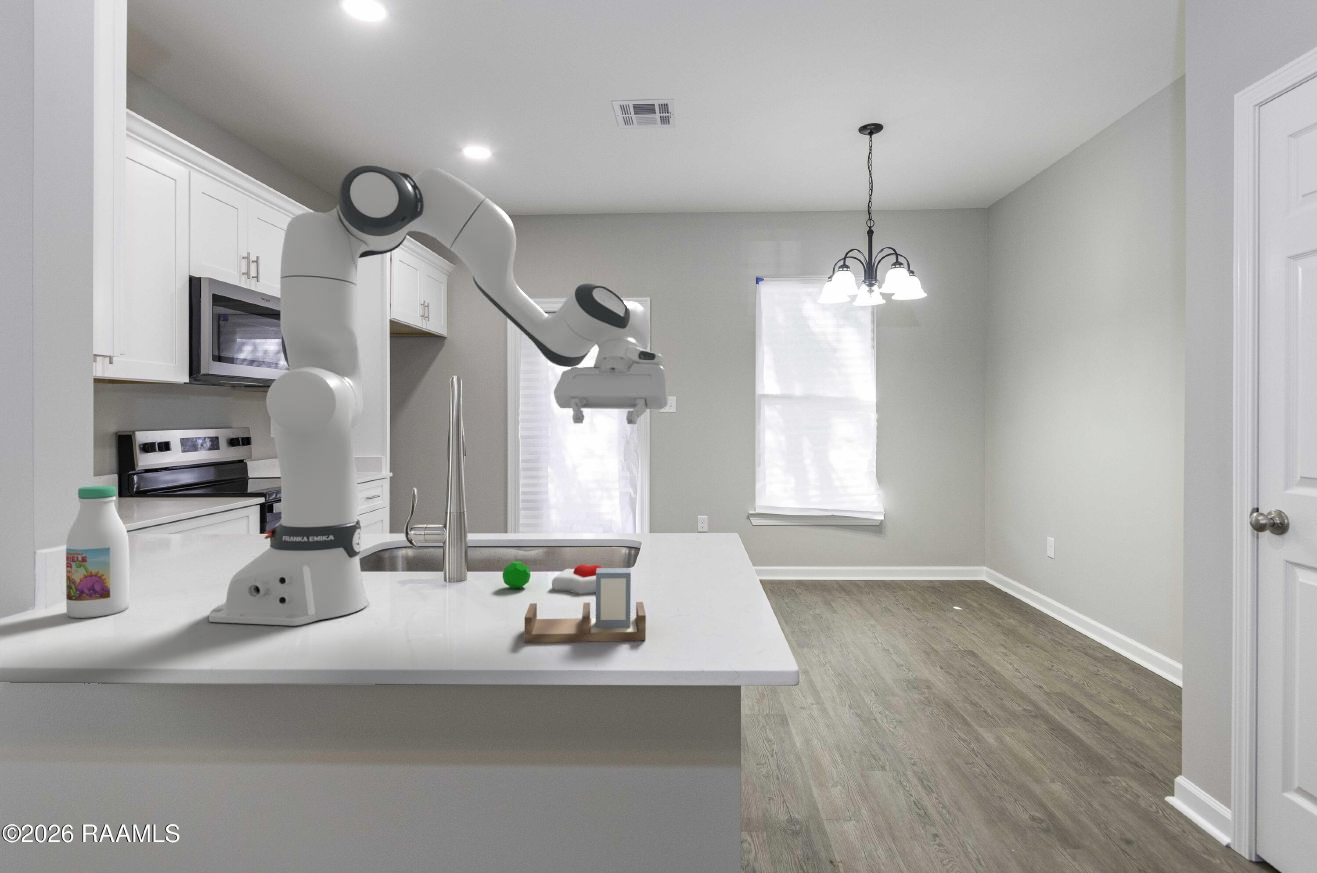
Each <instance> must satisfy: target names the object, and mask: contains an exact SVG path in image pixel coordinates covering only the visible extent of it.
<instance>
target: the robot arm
mask: <svg viewBox="0 0 1317 873" xmlns="http://www.w3.org/2000/svg"><path fill="white" fill-rule="evenodd" d="M336 194H337V196H336V197H337V205H336V207H335V208H333V209H332V210H329V211H328V212H327V211H325V212H319V211H308V212H303V213H300V214H297V215H295V216H293V217H292V218H291V219H290V221H289V222H288V223H287V226H286V230H285V233H284V238H283V243H282V244H283V245H282V252H281V260H280V277H279V278H280V283H279V284H280V294H279V295H280V332H281V335H282V339H283V341H284V342H283V343H284V345H285V350H286V356H287V362H288V363H287V364H288V367H289V368H288V369H289V371H288V370H287V372H285V373H283V374H281V375H280V376H279V377H277V378H276V379H275V380H274V381H273V382H272V384H271V385H270V386H269V389H268V390H267V392H266V393H267V395H266V400H265V402H266V409H267V413H268V415H269V417H270V420H271V425H272V432H273V438H274V445H275V450H276V455H277V460H278V464H279V474H280V485H281V486H280V491H281V492H280V493H281V495H280V496H281V497H280V498H281V500H280V501H281V508H280V509H281V510H280V511H281V523H279V524H278V525H276V526H274V527H272V528H270V530H267V531H265V532H264V534H267V535H265V536H264V539H265V540H267V539H269V547H268V548H267V549H266V550H265V551H263V552H262V553H260V555H258V556H257V557H255V558H253V560H252V561H250V562H249V563H247V564H246V565H245V566H244V567H242V568H241V569H240V570H237V572H235V573H234V575H233V576H232V577H231V580H230V581H229V584H228V588H227V592H226V599H225V602H223V603H221V604H219V605H217V606H216V607H214V608H213V609H211V611H210V612H209V614H208V621H209V622H211V623H212V622H213V623H231V624H250V625H252V624H253V625H272V626H273V625H274V626H291V627H292V626H301V625H306V624H310V623H313V622H316V621H320V620H321V621H322V620H326V619H332V618H337V617H341V616H346V615H349V614H352V613H355V612H359V611H361V610H362V609H364V608H366V607H367V606H368V605H369V602H370V601H369V599H368V597H367V593H366V589H365V587H364V582H363V576H362V569H361V564H360V563H361V562H360V553H361V548H362V531H361V520H359V519H358V472H357V471H358V470H357V467H356V462H355V455H354V449H353V440H352V431H351V430H352V428H354V427H355V426H356V425H357V424H358V423H359V421H360V419H361V417H362V414H363V412H364V395H363V378H362V368H361V367H362V366H361V358H360V349H359V341H358V262H359V259H362V258H367V257H371V256H372V257H373V256H379V255H384V254H388V253H391V252H393V251H394V250H396V249H398V248H399V247H400V246H401V245H403V243H404V242H405V240H406V238H407V235H408V233H409V232H418V233H419V232H420V233H424V234H426V235H428V236H430V237H432V238H435V239H436V240H437V241H438V242H440V243H441V244H442V245H443V246H444V247H446V248H447V249H449V250H450V251H451V252H453V254H455V255H456V256H457V257H458V258H459V259H460V260H461V261H462V262H463V263H464V265H465V266H466V267H467V268H468V269H469V272H470V273H471V274H472V279H473V283H474V285H475V287H477V289H478V291H480V293H482V295H483V296H484V297H485V298H486V299H487V300H488V301H489V302H490V303H491V304H492V305H493V306H494V307H495V308H496V309H498V311H499V312H501V314H503V315H504V316H505V317H506V318H507V320H509V321H510V322H511V323H513V324H514V326H515V327H516V328H518V329H519V330H520V331H521V332H522V333H523V334H524V335H525V336H526V337H528V339H529V340H530V341H531V342H532V343H533V344H534V345H535V346H536V347H537V349H538V350H539V351H540V353H541V354H542V356H543V357H544V358H545V359H547V360H548V361H549V362H550V363H552V364H554V365H556V366H559V367H566V368H569V369H567V370H563V371H562V372H561V375H560V378H559V379H558V381H557V383H556V385H555V387H554V390H553V396H554V400H555V403H556V404H557V406H558V407H559V408H560V409H572V412H573V413H572V421H573V424H583V423H584V420H585V415H584V410H583V409H586V410H587V409H600V410H602V409H603V410H604V409H605V410H606V409H607V410H608V409H609V410H615V409H616V410H627V413H626V418H625V419H626V422H627V423H626V424H627V425H637V423H638V419H639V418H640V417H641V416H643V415H644V414H645V413H646V411H647V410H663V409H665V408H666V407H667V406H668V404H669V390H668V389H669V387H668V381H667V373H666V366H665V362H664V359H663V355H662V354H660V353H656V352H653V351H648V347H649V344H650V343H649V342H650V338H651V322H650V317H649V314H648V312H647V310H646V309H645V308H644V307H643V306H642V305H640V304H639V303H637V302H635V301H631V300H623V299H622V298H621V297H620V296H619V295H618V294H617V293H615V292H614V291H612V290H611V289H609V288H608V287H606V286H603V285H600V284H596V283H583V284H579V285H578V286H577V287H576V288H575V289H574V290H573V292H572V293H570V295H569V296H568V297H567V298H566V299H565V300H564V301H563V304H561V306H560V307H559V308H558V309H557V310H556V312H555V313H554V314H553V315H548V314H547V313H545V312H544V310H542V309H541V308H540V307H539V306H538V305H537V304H536V303H535V302H534V301H533V300H532V299H531V298H530V297H529V296H528V295H527V294H526V293H525V292H523V290H521V288H520V287H519V286H518V284H517V283H516V281H515V280H516V279H515V277H514V262H515V261H514V260H515V256H516V255H515V254H516V252H517V236H516V229H515V227H514V224H513V221H512V220H511V218H510V217H509V216H508V214H506V212H505V211H504V210H503V209H502V208H501V207H499V205H497V204H495V203H494V202H493V201H492V200H490V199H489V198H488V197H486V196H485V195H483V193H481V192H480V191H479V190H477V189H476V188H474V187H472V186H471V185H470V184H468V183H467V182H465V181H464V180H462V179H460V178H458V177H456V176H455V175H453V174H451V173H449V172H448V171H445V170H443V169H442V168H439V167H426V168H424V169H422V170H420V171H418V172H417V173H416V174H415V175H414V176H412V175H410V174H408V173H406V172H401V171H394V170H391V169H388V168H385V167H381V166H376V165H361V166H358V167H356V168H354V169H351V170H350V171H349V172H348V173H347V174H346V175H344V177H343V179H342V180H341V182H340V183H339V187H338V189H337V193H336ZM595 346H597V348H598V351H597V353H596V354H597V355H596V358H595V360H594V363H593V366H585V367H584V366H583V367H578V366H579V365H580V364H581V363H582V362H583V361H584V359H585V358H586V357H587V355H588V354H589V353H590V352H591V350H592V349H593V348H594V347H595Z"/></svg>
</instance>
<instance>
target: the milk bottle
mask: <svg viewBox="0 0 1317 873" xmlns="http://www.w3.org/2000/svg"><path fill="white" fill-rule="evenodd" d="M77 491H78V492H77V497H78V502H79V504H80V505H79V510H78V513H77V516H76V518H75V520H74V522H73V524H72V525H71V527H70V529H69V532H68V534H67V538H66V546H65V584H66V585H65V588H66V591H65V594H66V595H65V596H66V598H65V599H66V602H65V603H66V614H67V616H68V617H69V618H73V619H87V618H97V617H105V616H110V615H114V614H118V613H120V612H124V611H125V610H127V609H128V608H129V607H130V605H131V604H130V603H131V602H130V601H131V599H130V598H131V597H130V596H131V594H130V591H131V589H130V586H131V585H130V582H131V581H130V576H131V575H130V574H131V573H130V545H129V535H128V531H127V529H126V527H125V524H124V523H123V521H122V519H121V518H120V515H119V514H118V512H117V509H116V506H115V501H116V500H117V498H116V496H117V489H116V487H115V485H114V486H112V485H93V486H85V487H79V488H78V489H77Z"/></svg>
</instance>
